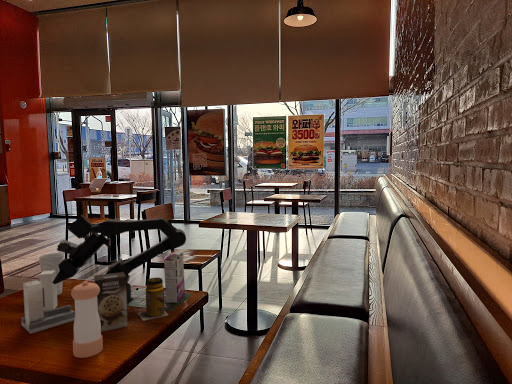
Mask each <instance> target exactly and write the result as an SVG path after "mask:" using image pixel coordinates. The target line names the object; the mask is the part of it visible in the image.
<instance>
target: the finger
mask: <svg viewBox="0 0 512 384" xmlns="http://www.w3.org/2000/svg"><path fill="white" fill-rule="evenodd" d="M55 277H56V270H52V271H43V272H42V273H39V274H38V279H37V280H38V281H40V282H41V283H42V287H43V288H44V300H45V307H43V310H44V312H45V311H48V310H52V309H56V308H57V306H58V295H57V284H53V283H52V282H53V280H54V279H55Z"/></svg>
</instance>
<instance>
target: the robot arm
mask: <svg viewBox="0 0 512 384" xmlns="http://www.w3.org/2000/svg"><path fill="white" fill-rule="evenodd" d="M66 230H68V231H69V232H70V233H71V234H72V235H74V236H75V237H76V238H77V239H83V240H84V239H85V238H86V237H87V238H86V239H85V240H84V241H83V242H81V243H80V244H79V245H78V244H76V243H74V242H72V241H69V240H65V239H62V240H61V241H60V242H59V243H58V245H57V248H56V251H57V252H61V253H63V254H66V255H67V254H68V258H66V257H65V258H64V260H63V261H62V262H61V263H60V264H59V266H58V267H59V270H60V271H59V273H58V274H57V276H56V277H55V279H54V280H53V282H52V283H53V284H57V283H59V282H61V281H66V280H68V279H71V278H73V277H75V275H76V274H77V273H78V272H80V269H81V268H83V266H85V265H86V264H87V263H88V262H89V261H90V259H92V257H93V256H94V255H95V254H96V253H97V252H98V251H99V250H100V249H101V248H102V247H103V246H104V245H105V246H106V247H107V248H109V247H111V241H112V239H111V237H113V236H116V235H120V234H123V233H128V232H138V231H139V232H140V231H148V230H149V231H152V230H153V231H154V230H159V231H161V232H162V233H163V234H164V235H165V237H164V238H163V239H162V240H161V241H159V242H158V243H156V244H154V245H153V246H151V247H149V248H147V249H145V250H143V251H142V252H140V253H138V254H136V255H135V256H133V257H132V258H130V259H127V260H124V261H123V259H122V258H120V259H119V260H117V261H115V262H112V263H111V264H110V266H109V267H108V270H107V271H106V272H105V274H111V273H119V272H124V274H125V276H126V295H127V303H129V302H131V301H133V300H134V297H133V296H132V289H131V288H132V285H131V284H130V283H129V281H130V278H131V275H130V273H131V272H132V271H134V270H136V269H137V268H138V267H140V266H142V265H144V264H146V263H147V262H149V261H151V260H153V259H155V258H156V257H158V256H159V255H162V254H163V253H165V252H168V251H171V250H175V249H177V248H181V247H183V246H184V245H185V244H186V241H187V235H186V233H185V231H184V230H183V229H182V228H181V229H180V228H176V227H175V226H174V225H172V223H170V222H168V221H167V220H166V218H164V217H158V218H151V219H150V218H148V219H134V220H123V219H116V218H115V219H113V218H108V219H106V220H104V221H103V222H101V223H95V224H93V223H92V222H90V221H89V220H88V219H87V218H86V216H84V215H83V214H81V215H80V216H79V217H78V218H77V219H76V220H74V221H72V222H71V223H70V224H69V226H67V227H66Z"/></svg>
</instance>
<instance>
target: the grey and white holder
mask: <svg viewBox="0 0 512 384" xmlns="http://www.w3.org/2000/svg"><path fill="white" fill-rule="evenodd" d="M38 280H39V279H36V280H31V281H28V282H23V283H22V284H23V286H22V287H23V304H24V316H23V317H21V326H22V327H23V328H24V330H26V331H27V332H28V333H29V334H30V335H31V334H34V333H37V332H41V331H44V330H47V329H51V328H54V327H57V326H60V325H63V324H67V323H70V322H74V320H75V310H72V305H71V304H68V305H64V306H60V307H56V308H55V309H52V310H47V311H44V310H43V307H45V300H44V288H43V287H42V283H41V282H40V281H38Z"/></svg>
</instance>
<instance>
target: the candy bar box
mask: <svg viewBox="0 0 512 384" xmlns="http://www.w3.org/2000/svg"><path fill="white" fill-rule="evenodd" d="M163 267H164V269H163V271H164V284H165V285H164V293H165V303H166V304H177V303H180V301H181V299H182V297H183V296H184V295H185V293H186V290H185V289H186V288H185V263H184V252H183V251H182V252H181V251H180V252H175V251H174V252H170V254H169V255H167V256H166V257H165V258H164V259H163Z"/></svg>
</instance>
